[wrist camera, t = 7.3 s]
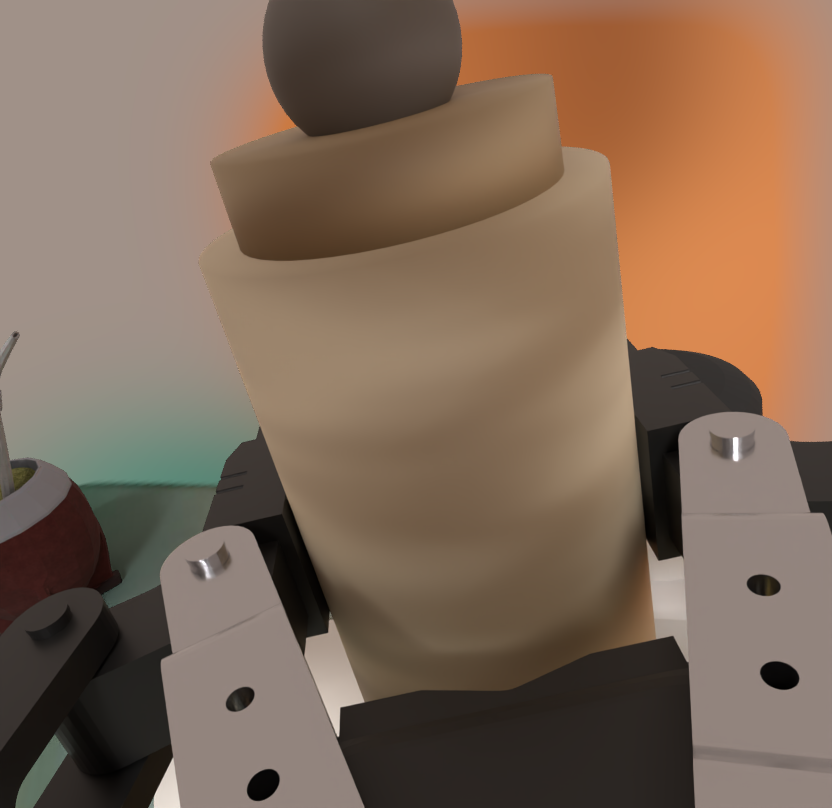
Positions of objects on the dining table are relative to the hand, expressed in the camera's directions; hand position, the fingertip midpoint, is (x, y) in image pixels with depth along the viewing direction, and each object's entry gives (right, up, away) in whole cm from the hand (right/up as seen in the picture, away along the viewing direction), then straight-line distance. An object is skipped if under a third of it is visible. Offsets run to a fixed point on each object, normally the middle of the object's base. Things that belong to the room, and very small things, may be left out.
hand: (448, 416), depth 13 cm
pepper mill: (+2, -8, +1) cm, 8 cm away
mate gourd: (-19, -11, +24) cm, 32 cm away
